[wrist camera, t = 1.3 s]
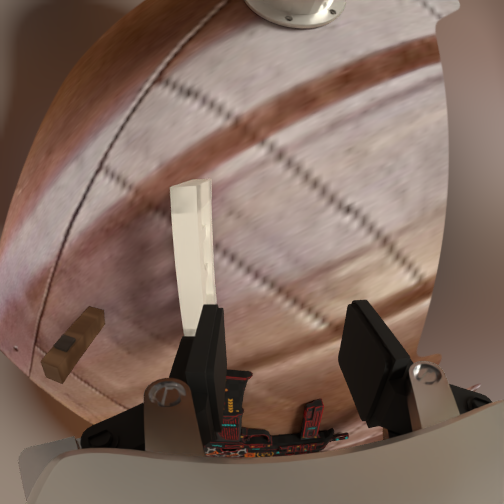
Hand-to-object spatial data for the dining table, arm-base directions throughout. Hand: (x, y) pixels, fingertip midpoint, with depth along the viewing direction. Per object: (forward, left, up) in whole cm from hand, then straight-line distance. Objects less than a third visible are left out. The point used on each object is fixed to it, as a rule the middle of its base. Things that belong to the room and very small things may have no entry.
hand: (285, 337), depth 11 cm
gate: (+3, -6, -20) cm, 21 cm away
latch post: (+16, -20, -21) cm, 33 cm away
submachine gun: (+33, +5, -22) cm, 40 cm away
